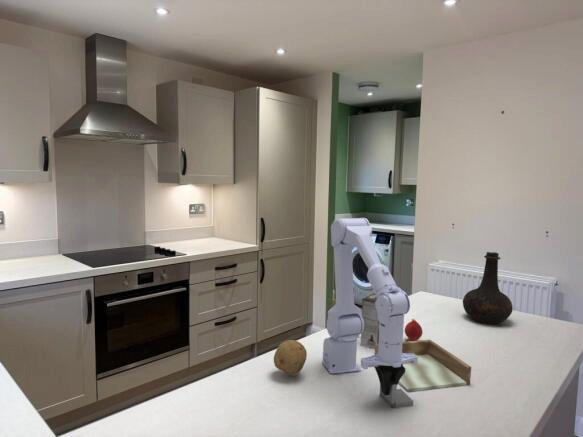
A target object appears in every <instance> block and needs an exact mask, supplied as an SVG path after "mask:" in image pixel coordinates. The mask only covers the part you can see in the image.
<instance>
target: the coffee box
mask: <svg viewBox="0 0 583 437" xmlns="http://www.w3.org/2000/svg"><path fill="white" fill-rule="evenodd" d="M361 299H362V301H361V303H362V304H361V313H362V318H363V321H364V330H363V332H362V333H361V334H360V345H361V346H363V345H364V347H368V348H370V347H371V349H373V348H374V350H375V344H379V324H380V322H379V321H378V313H377V310H376V306H375V301H377V297H376V295H375V293H374V292H373V293H372V294H369V295H367V296H366V297H363V298H361Z"/></svg>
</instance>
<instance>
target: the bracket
mask: <svg viewBox="0 0 583 437" xmlns="http://www.w3.org/2000/svg"><path fill="white" fill-rule="evenodd" d="M379 397H381V399H382V400H383V401H384V402H385V404H386V405H387V406H388V407H389V408H390V409H396V408H398V409H399V408H405V407H413V406H414V399H412V398H411V397H410V396H409V395H408V394H407V393H406V392H405V391H404V390H403V388H398V385H397V384H396V383H395V382H394V381H393V380H392V379H391V378H390V380H389V389H388V395H384V394H383V393H382V392H381V386H380V385H379Z"/></svg>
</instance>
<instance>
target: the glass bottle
mask: <svg viewBox="0 0 583 437" xmlns="http://www.w3.org/2000/svg"><path fill="white" fill-rule="evenodd" d="M499 254H500V253H498V252H494V251H493V252H490V251H486V254H485V255H484V256H483V257H484V259H485V264H484V269H483V275H482V279H481V282H480V284H479V286H478V287H477V288H473V289H472V290H469V291H468V292H466V293H465V295H464V297H463V300H462V306H463V309H464V311H465V313H466V314H467V315H468V316H469V317H470V318H471V319H473V320H475V321H477V322H480V323H484V324H488V325H497V324H500V323H503V322H504V321H506V320H508V318H509V317H510V316H511V315H512V313H513V303H512V301H511V299H510V297H508V296H507V295H506V294H505V293H503V292H502V291H501V290H500V288H499V287H500V286H499V281H498V279H499V274H498V273H499V272H498V270H499V269H498V268H499V260H501V259H502V258H501V257H500V256H499Z"/></svg>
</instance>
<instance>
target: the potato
mask: <svg viewBox="0 0 583 437" xmlns="http://www.w3.org/2000/svg"><path fill="white" fill-rule="evenodd" d="M307 355H308V353H307V349H306V348H305V346H304V345H303V344H302V342H300V341H298V340H295V339H287V340H284V341H283V342H281V343H280V344H279V345H277V348H276V350H275V353H274V356H273V364H274V366H275V368H277V369H278V370H279V371H282V372H284V373H285V374H286V375H287V376H290V377H294V376H296V375H297V374H299V373H300V372H301V371H302V370H303V368H304V366H305V362H306V361H307Z"/></svg>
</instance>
